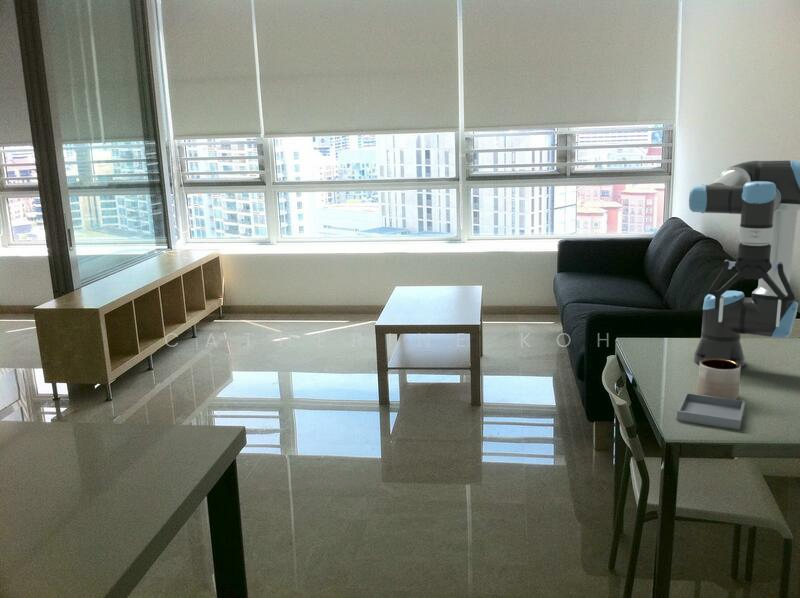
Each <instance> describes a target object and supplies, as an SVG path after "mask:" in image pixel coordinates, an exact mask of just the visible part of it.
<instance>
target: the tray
mask: <svg viewBox="0 0 800 598" xmlns="http://www.w3.org/2000/svg"><path fill="white" fill-rule="evenodd" d="M745 406H746V400H742V399H737V398H736V399H729V398H721V397H714V396H707V395H700V394H698V393H692V392H685V394H684V396H683V398H682V399H681V402H680V404H679V407H678V408H677V411H676V420H677V421H682V422H687V423H688V422H689V423H693V424H694V423H695V424H701V425H708V426H713V427H714V426H715V427H719V428H726V429H733V430H739V431H740V429H741V426H742V420H743V417H744V413H745Z"/></svg>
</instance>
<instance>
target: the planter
mask: <svg viewBox="0 0 800 598" xmlns="http://www.w3.org/2000/svg"><path fill="white" fill-rule="evenodd" d="M741 368H742V367H741V365H740V364H739V363H737V362H735V361H732V360H727V359H720V358H709V359H704V360H701V361H700V364H699V368H698V370H699V372H698V381H697V394H700V395H707V396H714V397H721V398H729V399H736V400H737V399H738V398H739V395H740V382H741V381H740V380H741V379H740V378H741Z"/></svg>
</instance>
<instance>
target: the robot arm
mask: <svg viewBox="0 0 800 598" xmlns="http://www.w3.org/2000/svg"><path fill="white" fill-rule="evenodd" d="M688 208H689V210H690V211H691V213H692V212H693V213H701V214H705V213H706V214H729V215H732V214H733V215H740V224H739V225H740V226H739V234H738V235H739V236H738V237H739V238H738V241H739V242H740V243H739V244H738V246H737V247H738V249H737V250H738V251H737V260H736V261H733V260H732V261H731V260H730V259H725V260H724V262H723V266H722V269H721V271H720V273H719V274H718V275H717V277H716V278H715V280H714V281H713V282H712V285H711V286H710V287H709V289H708V291H707V292H708V294H706V296H704V299H703V306H702V321H701V336H700V340H699V342H698V344H697V347H696V349H695V351H694V354H693V355H694V356H693V360H694V362H695V363H696V364H697V365H700V361H701V360H704V359H709V358H720V359H727V360H732V361H735V362H737V363H739V364H740V365H741V368H742V367H744V366H745V359H746V358H745V357H746V356H745V354H744V349H743V346H742V343H741V335H748V336H757V337H765V338H771V339H786V338H789V336H790V335H791V334H792V331H793V328H794V325H795V320H796V319H797V318H796V317H797V314H798V313H797V312H798V307H799V303H798V302H797V301H795V299H796V295H795V292H794V291H793V288H792V286H791V284H790V281H791V274H792V273H791V272H792V265H793V264H792V263H793V255H794V246H795V245H794V244H795V237H796V227H797V226H796V225H797V219H798V218H797V217H798V213H799V211H800V160H792V159H791V160H750V161H745V162H740V163H737V164H734V165H732V166H729V167H727V168H726V169H724V170H723V171H721V173H720V174H719V176H718V177H717V179H716V180H714V181H712V182H711V183H710V184H695V185H693V186H692V187H691V188H690V192H689V196H688ZM733 267H735V269H736V270H737V271H738V272H736V274H734V276H732V277H731V278H730V279H729V280H728V281H727V282H726V283H725V284H724V285H722V286H721V288H719V289H718V290H717V288H718V286H719V285H720V284H721V282H722V280H723V279H724V277H725V275H726V274H727V272H728V270H732V268H733ZM741 278H744V279H745V280H751V279H752V280H756V281H758V285H757V288H755V289H754V290H753V291H752V292H751V297H745V293H744V292H743V291H740V290H739V291H738V290H729V289H730V288H731V287H733V285H735V284H736V282H738V281H739V280H740V279H741Z"/></svg>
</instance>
